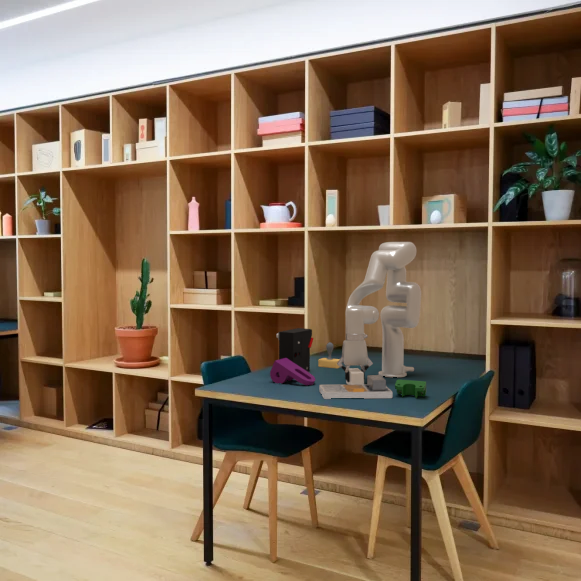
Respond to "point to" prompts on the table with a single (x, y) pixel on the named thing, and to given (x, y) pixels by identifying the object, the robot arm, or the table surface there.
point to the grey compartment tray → (358, 389)
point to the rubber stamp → (328, 361)
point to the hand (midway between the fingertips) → (354, 380)
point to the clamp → (411, 387)
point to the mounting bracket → (290, 372)
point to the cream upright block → (355, 376)
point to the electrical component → (296, 346)
